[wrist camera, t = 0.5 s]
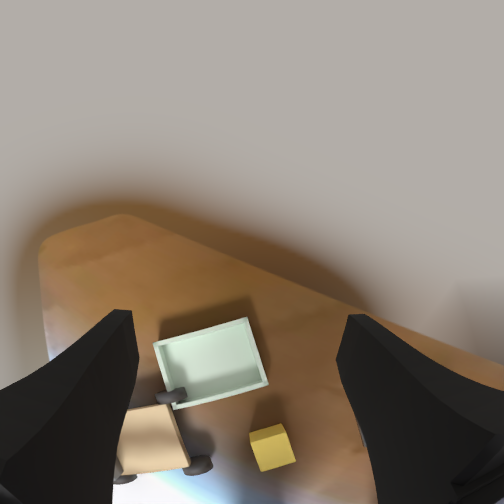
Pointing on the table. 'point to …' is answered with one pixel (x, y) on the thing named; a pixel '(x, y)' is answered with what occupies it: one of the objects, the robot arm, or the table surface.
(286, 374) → the table surface
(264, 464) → the yellow cube
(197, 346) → the tray
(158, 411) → the trolley
